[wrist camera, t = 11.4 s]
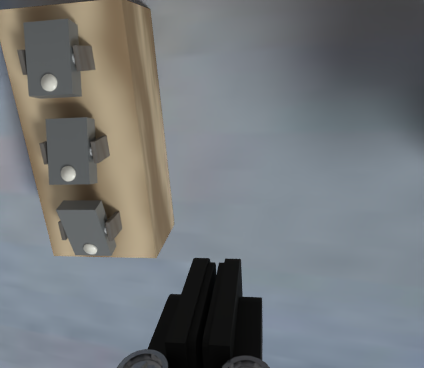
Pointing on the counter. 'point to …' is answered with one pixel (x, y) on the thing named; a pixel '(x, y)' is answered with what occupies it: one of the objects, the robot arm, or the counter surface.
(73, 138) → the rocker middle
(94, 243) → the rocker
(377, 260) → the counter surface
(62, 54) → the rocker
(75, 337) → the counter surface
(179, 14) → the counter surface
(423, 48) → the counter surface
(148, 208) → the switch unit
